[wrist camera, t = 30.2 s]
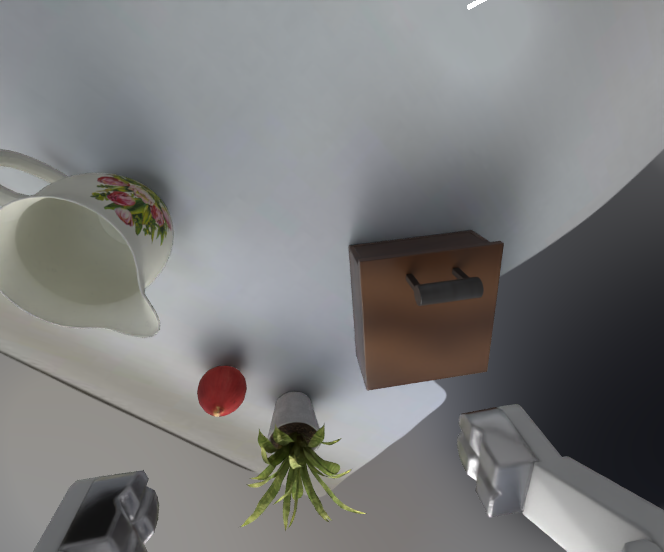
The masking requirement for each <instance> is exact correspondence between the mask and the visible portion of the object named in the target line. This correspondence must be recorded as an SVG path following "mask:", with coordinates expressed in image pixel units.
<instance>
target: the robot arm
mask: <svg viewBox="0 0 664 552" xmlns="http://www.w3.org/2000/svg"><path fill="white" fill-rule="evenodd" d="M484 1H486V0H477V1H475V2H473V3H471V4H469V5H468V10H469V9H471V8H472V7H474V6H476V5H478V4H480V3H482V2H484ZM459 426H460V427H461V430H462V431H461V433H460V434H459V435H458V437H457V439H458V440H457V446H458V452H459V456H460V459H461V462H462V465H463V467H464V469H465V471H466V473H467V474H468V475H470V476H471V477H472V478H474V479H475V480H476V481H477V482H476V493H477V494H478V497H479V499H480V500H481V502H482V504H483V506H484V508H485V510H486V512H487V514H488V516H489V517H494V516H500V515H507V514H513V513H519V512H523V514H524V515H525V516H526V517H527V518H528V519H530V520H531V521H532V522H533V523H534V524H536V525H537V526H538V527H539V528H540V529H541V530H543V531H544V532H545V533H546V534H547V535H549V536H550V537H551V538H552V539H553V540H555V541H556V542H557V543H558V544H559V545H560V546H561V547H563V548H564V549H565V550H566V551H567V552H664V510H662V509H660V508H658V507H657V506H655V505H653V504H651V503H650V502H648V501H646V500H644V499H642V498H641V497H639V496H637V495H635V494H634V493H632V492H630V491H628V490H626V489H625V488H623V487H621V486H619V485H618V484H616V483H614V482H612V481H610V480H609V479H607V478H605V477H603V476H602V475H600V474H598V473H596V472H595V471H593V470H591V469H589V468H587V467H586V466H584V465H582V464H580V463H579V462H577V461H575V460H573V459H572V458H570V457H568V456H567V457H561V456H560V454H559V453H558V452H557V451H556V449H555V448H554V447H553V446H552V444H551V443H550V442H549V441H548V440H547V438H546V437H545V436H544V434H543V433H542V432H541V431H540V429H539V428H538V427H537V426H536V425H535V423H534V422H533V421H532V420H531V418H530V417H529V416H528V415H527V413H526V412H525V411H524V410H523V408H521V406H519V405H517V404H514V405H508V406H502V407H498V408H497V407H495V408H489V409H484V410H479V411H473V412H468V413H463V414H461V415H460V417H459ZM147 482H148V477H147V475H146V473H145V472H144V470H143V471H135V472H129V473H122V474H115V475H108V476H101V477H95V478H89V479H83V480H77V481H76V482H75V483H74V484H73V485H71V486H70V488H69V489H68V491H67V493H66V495H65V497H64V498H63V500H62V502H61V503H60V505H59V507H58V509H57V510H56V512H55V514H54V516H53V517H52V519H51V521H50V523H49V525H48V526H47V528H46V530H45V532H44V533H43V535H42V537H41V539H40V541H39V542H38V544H37V546H36V548H35V549H34V551H33V552H147V549H146V547H145V542H147V540H148V539H149V538H150V537H151V536H152V535H153V533H154V532H155V528H156V525H157V521H158V513H159V502H158V497H157V495H156V492H155V490H153V489H151V488H149V487H147V486H146V485H147Z"/></svg>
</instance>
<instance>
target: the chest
mask: <svg viewBox="0 0 664 552" xmlns="http://www.w3.org/2000/svg"><path fill="white" fill-rule="evenodd" d="M487 242H489V241H488V240H486V239H485V238H483V237H482V236H480V235H478V234H477V233H475V232H474V231H472V230H468V231H460V232H452V233H444V234H436V235H428V236H420V237H413V238H405V239H397V240H389V241H381V242H373V243H365V244H357V245H349V260H350V274H351V288H352V303H353V317H354V331H355V345H356V356H357V359H358V363H359V366H360V369H361V373H362V376H363V380H364V383H365V369H364V352H363V335H362V318H361V301H360V284H359V267H358V259H364V258H371V257H379V256H387V255H395V254H402V253H410V252H418V251H425V250H433V249H441V248H449V247H456V246H464V245H472V244H479V243H487Z"/></svg>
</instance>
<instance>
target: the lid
mask: <svg viewBox="0 0 664 552" xmlns="http://www.w3.org/2000/svg"><path fill="white" fill-rule="evenodd" d="M503 246H504V243H503V242H501V241H495V242H487V243H479V244H472V245H464V246H456V247H449V248H441V249H433V250H425V251H418V252H410V253H402V254H395V255H387V256H379V257H371V258H364V259H358V267H359V284H360V301H361V318H362V335H363V352H364V369H365V386H366V389H367V390H373V389H380V388H386V387H392V386H399V385H405V384H411V383H418V382H424V381H430V380H437V379H442V378H449V377H455V376H462V375H468V374H475V373H480V372H487V367H488V360H489V352H490V344H491V337H492V329H493V321H494V314H495V306H496V299H497V292H498V284H499V276H500V269H501V261H502V254H503Z"/></svg>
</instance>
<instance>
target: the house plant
mask: <svg viewBox="0 0 664 552" xmlns="http://www.w3.org/2000/svg"><path fill="white" fill-rule="evenodd" d="M324 424H325V423H324ZM323 439H324V425H323V427H322V428H319V425H318V422H317V419H316V416H315V413H314V410H313V406H312V403H311V400H310V399H309V397H308V396H307V395H306V394H304V393H301V392H288V393H286V394H283V395H282V396H281V397H279V399H278V400H277V402H276V405H275V409H274V413H273V417H272V422H271V426H270V430H269V434H268V438H266V437H265V436H263V435H262V433H261V432H260V429H259V436H258V443H259V445H260V447H261V450H262V452H261V455H262V458H263V460H264V462H265V463H267V464H269V466H268V467H267V468H266V469H265V470H264V471H263V472H262V473H261V474H259V475H258V476H257V477H255V478H252V479H258V480H264V481H262V482H259V483H255V484H250V485H248V486H250V487H259V486H262V485H263V484H265V483H266V482H268V481H269V480H270V479H271V478H275V477H276V478H275V480H274V481H273V483H272V485H271V486H270V488H269V489H268V491H267V492H266V493H265V495H264V496H263V497H262V498H261V500H260V501H259V503H258V505H257V507H256V509H255V511H254V513H253V514H252V515H251V516H250V517H249V518H248V519H247V520H246V521H245V523H244V524H243V525H242V526H245V525H247V524H249V523H251V522H252V521H254V520H255V519H257V518H258V517H259V516H260V515H261V514H262V513H263V512H264V510H265V509H266V508H267V507H268V505H269V504H270V503H271V501H272V500H273V499H274V498H275V496H276V494H277V493H278V491H279V490H280V487H281V484H282V481H283V479H284V477H285V475H286V473H287V471H288V469H289V467H290V469H289V473H288V477H287V483H286V491H285V495H283V496H282V497H281V498H280V499H279V500H278V501H276V502H275V503H277V502H279V501H281V500H282V499H283V498H284V502H283V519H284V525H285V530H286V527H287V523H288V515H289V512H290V500H291V493H292V497H293V499H294V500H295V505H294V512H293V516H292V519H291V522H290V525H289V527H290V526H291V524H292V522H293V520H294V517H295V513H296V509H297V502H298V498H301V496H302V495H303V485H302V481H303V484H304V487H305V489H306V492H307V494H308V497H309V499H310V500H311V502H312V504H313V505H314V507H315V509H316V511H317V512H318V513H319V515H320V516H321V517H322V518H323V519H324V520H326V521H328V520H327V519H326V518H328V519H330V518H329V516H328V515H327V513H326V512H325V511H324V509H323V507H322V504H321V501H320V500H319V498H318V496H317V495H316V493H315V491H314V489H313V487H312V483H311V480H310V478H309V474H308V471H307V465H308V467H309V468H310V470H311V472H312V473H313V475H314V476H315V477H316V479H317V480H318V481H319V483H320V484H321V485H322V487H323V488H324V489H325V491H326V492H327V493H328V495H329V496H330V497H331V498H332V499H333V501H334V502H335V503H337V504H338V505H339V506H340V507H341V508H343V509H345V510H347V511H351V512H354V513H359V514H364V513H363V512H359V511H356V510H353V509H351V508H349V507H348V506H346V505H344V504H343V503H342V502H341V501H340V500H338V499H337V497H336V496H335V495H334V494H333V493H332V491H331V490H330V489H329V487H328V486H327V485H326V484H325V483H324V482H323V481H322V479H321V478H320V477H319V476H318V474H320V475H322V476H325V475H323V474H322V473H320V472H319V471H318V470H317V469H316V468H318V469H319V470H321V471H322V472H323V473H325V474H326V475H328V476H332V477H329V478H334V479H335V478H339V477H341V476H343V475H345V474H347V473H349V472H350V470H351V469H350V470H348V471H346V472H344V473H342V474H337V473H338V472H339V470H340V466H339V465H338V464H336V463H333V462H329V461H325V460H323V459H322V458H320V457H319V456H318V455H317V454H316V453H315V451H316V450H317V449H318V448H319V446H320V444H321V443H323V444H326V445H332V444H334V443H336V442H338V441H339V440H340V439H338V440H335V441H332V442H322V441H323ZM341 439H342V438H341ZM266 452H268V453H272V455H271V456H270V457H269V458H267V455H266ZM283 460H284V461H283ZM282 461H283V463H282V464H281V466H280V468H279V469H278V471H277V472H276V473H274V474H273V475H271V476H269V475H270V474H271V473H272V471H273V470H274V469H275V467H276V465H278V464H280V463H281V462H282ZM306 463H307V465H306ZM314 466H315V467H316V468H315V467H314ZM317 473H318V474H317ZM335 474H336V475H337V476H333V475H335ZM268 476H269V477H268ZM328 476H326V477H328ZM301 478H302V480H301ZM330 520H331V519H330ZM328 522H329V521H328Z"/></svg>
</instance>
